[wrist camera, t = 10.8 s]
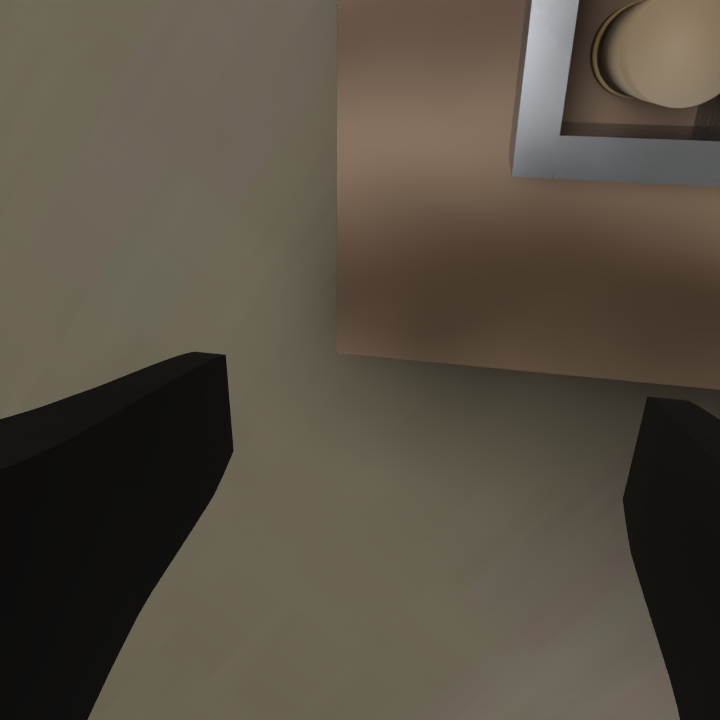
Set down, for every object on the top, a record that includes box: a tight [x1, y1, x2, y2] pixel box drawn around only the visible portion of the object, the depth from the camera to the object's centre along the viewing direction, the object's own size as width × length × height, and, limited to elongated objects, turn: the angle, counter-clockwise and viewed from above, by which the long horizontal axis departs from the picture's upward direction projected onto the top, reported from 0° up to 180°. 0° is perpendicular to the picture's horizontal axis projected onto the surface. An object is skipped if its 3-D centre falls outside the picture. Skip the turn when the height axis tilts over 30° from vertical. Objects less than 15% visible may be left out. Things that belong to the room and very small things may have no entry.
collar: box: [509, 0, 720, 187], centre depth 14 cm, size 5×5×4 cm
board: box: [337, 0, 720, 390], centre depth 14 cm, size 18×15×6 cm
